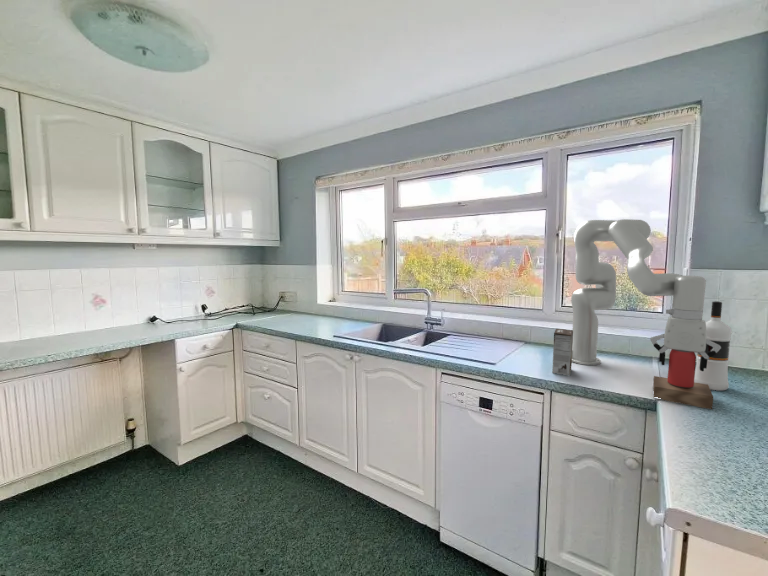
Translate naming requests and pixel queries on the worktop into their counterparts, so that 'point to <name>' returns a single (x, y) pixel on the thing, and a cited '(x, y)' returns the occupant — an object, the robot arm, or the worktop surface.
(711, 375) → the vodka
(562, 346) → the coffee box
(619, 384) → the worktop surface
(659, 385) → the walnut base
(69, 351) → the worktop surface
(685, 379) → the beer can
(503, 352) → the worktop surface
